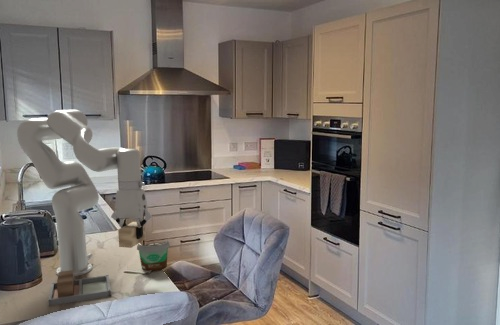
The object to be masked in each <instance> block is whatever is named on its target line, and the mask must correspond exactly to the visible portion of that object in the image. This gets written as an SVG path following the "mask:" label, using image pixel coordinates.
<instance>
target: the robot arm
mask: <svg viewBox="0 0 500 325" xmlns="http://www.w3.org/2000/svg"><path fill="white" fill-rule="evenodd" d="M16 134H17V135H16V137H17V141H18V144H19V146H20V148H21V149H22V151H23V152H24V153H25V155H26V156H27V157H28V159H29V160H30V161H31V163H32V164H33V165H34V168H35V170H36V172H37V173H38V175H39V176H40V178H41V180H42V181H43V183H44V185H45V186H46V187H47V188H48V189H50V190H57V189H60V190H58V191H56V192H55V193H54V194H53V196H52V198H51V206H52V209H53V213H54V216H55V221H56V222H55V223H56V231H57V243H58V244H57V245H58V255H59V266H58V268H56V270H55V273H56V276H58V273H59V272H63V271H71V270H73V277H77V276H78V277H79V276H81V275H82V276H83V275H85V274H87V273H89V272H91V271H92V270H93V265H92V264H91V263H90V262H89V260H90V259H92V258H93V254H92V253H90V252H89V253H88V254H87V252H88V251H87V242H86V240H87V239H86V226H85V225H86V224H85V222H84V219H83V218H82V216H81V215H80V212H82V211H85V210H88V209H89V210H90V209H92V208H93V207H95V206H96V205H97V204H98V202H99V192H98V189H97V188H96V186H95V184H94V182H93V180H92V179H91V178H90V176H89V174H88V172H87V170H86V169H85V168H84V166H85V167H86V168H87V169H89V170H91V171H92V172H96V173H101V172H106V171H111V170H112V171H113V170H117V183H118V184H117V185H118V188H117V189H116V192H115V204H114V211H113V213H112V214H111V216H110V218H111V219H113V220H114V221H115V222H116V223H117V224H118V226H119V227H120V228H122V227H124V226H126V225H127V221H128V220H135V222H136V223H137V226H138V227H137V228H136V235H137V239H140V238H141V237H142V236H143V226H144V224H145V225H146V223H147V222H148V221H150V220H151V219H152V218H153V216H152V215H151V214H150V212H149V210H148V202H147V196H146V191H145V188H143V187H145V186H146V182H143V181H142V169H141V152H140V150H138V149H136V148H123V147H119V146H113V147H106V148H105V147H104V148H95V147H94V146H93V145H91V144H90V142H91V140H92V138H93V131H92V129H91V128H90V127H89V126H88V118H87V116H86V114H85V113H84V112H83V111H81V110H78V109H58V110H54V111H52V112H51V113H50V114H48V115H47V117H38V118H37V117H35V118H28V119H24V120H23V121H22V122H20V123H19V125H18V127H17V132H16ZM61 139H63V140H64V141H65V142H67V143H68V144H69V145H71V146H72V150H73V153H74V156H75V158H76V159H77V160H78V161H79V162H80V163H79V162H77V161H76V160H75V161H73V160H69V161H61V160H60V159H59V157H58V156H57V154H56V153H55V151H54V149H52V148H51V147H50V146H49V145H47V144H46V143H44V142H43V141H51V140H52V141H53V140H61ZM83 165H84V166H83ZM144 217H145V218H144ZM143 218H144V219H143Z"/></svg>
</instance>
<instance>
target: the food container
mask: <svg viewBox="0 0 500 325" xmlns="http://www.w3.org/2000/svg"><path fill="white" fill-rule="evenodd" d="M168 239H169V238H168ZM168 239H167V241H163V242H151V243H148V244H142V245H141V244H140V243H138V244H137V245H136V250H137V251H138V254H139V260H140V264H141V269H142V270H144V271H147V272H148V271H149V272H152V273H153V272H159V271H162V270H165V269H166V268H167V266H168V252H169V250H168V249H169V247H171V246H170V242H169V240H168Z"/></svg>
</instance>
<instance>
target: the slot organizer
mask: <svg viewBox="0 0 500 325" xmlns="http://www.w3.org/2000/svg"><path fill="white" fill-rule="evenodd" d="M104 297H106V298H107V297H112V293H111V283H110V277H109V274H106V275H101V276H92V277H85V278H76V279H74V295H73V296H67V297H60V298H58V290H57V281H56V282H51V285H50V291H49V296H48V306H55V305H61V304H68V303H75V302H81V301H87V300H93V299H98V298H104Z"/></svg>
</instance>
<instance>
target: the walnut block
mask: <svg viewBox="0 0 500 325" xmlns="http://www.w3.org/2000/svg"><path fill="white" fill-rule="evenodd" d="M74 278H75V276H73V270H71V271H63V272H59V273H58V275H57V280H56V282H57V290H58V298H60V297H67V296H73V295H74V280H75V279H74Z"/></svg>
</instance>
